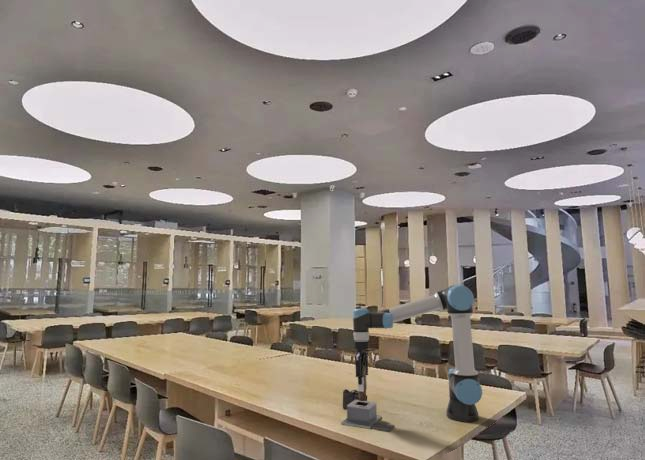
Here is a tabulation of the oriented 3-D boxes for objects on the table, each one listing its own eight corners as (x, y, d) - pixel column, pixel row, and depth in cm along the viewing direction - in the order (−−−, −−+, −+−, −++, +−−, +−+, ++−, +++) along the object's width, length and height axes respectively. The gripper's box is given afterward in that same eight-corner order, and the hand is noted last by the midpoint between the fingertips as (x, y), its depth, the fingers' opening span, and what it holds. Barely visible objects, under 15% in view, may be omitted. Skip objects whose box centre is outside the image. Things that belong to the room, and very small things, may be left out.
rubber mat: (394, 426, 186) (394, 424, 186) (389, 431, 178) (389, 430, 178) (377, 423, 189) (377, 422, 189) (372, 429, 182) (372, 427, 182)
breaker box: (381, 417, 198) (381, 400, 199) (370, 428, 182) (369, 410, 183) (354, 413, 204) (354, 397, 205) (341, 424, 188) (341, 406, 189)
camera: (374, 409, 212) (374, 389, 213) (363, 414, 203) (363, 393, 204) (352, 404, 220) (352, 385, 222) (340, 409, 212) (340, 389, 213)
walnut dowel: (367, 399, 195) (366, 365, 198) (364, 401, 192) (364, 366, 194) (360, 398, 197) (359, 364, 199) (357, 400, 194) (357, 366, 196)
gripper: (359, 338, 208) (360, 385, 204) (348, 342, 193) (349, 393, 189) (373, 338, 204) (375, 387, 201) (362, 342, 190) (364, 395, 186)
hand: (362, 390), depth 195 cm, fingers closed on walnut dowel, 3 cm apart
